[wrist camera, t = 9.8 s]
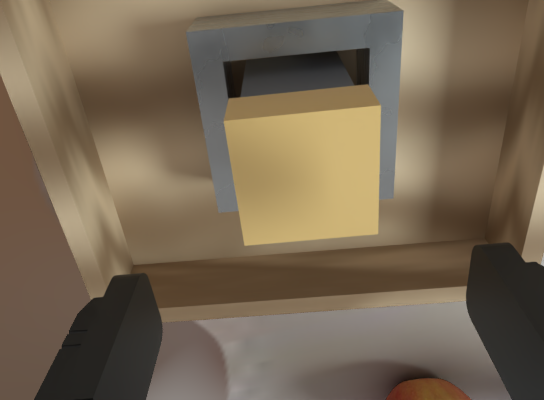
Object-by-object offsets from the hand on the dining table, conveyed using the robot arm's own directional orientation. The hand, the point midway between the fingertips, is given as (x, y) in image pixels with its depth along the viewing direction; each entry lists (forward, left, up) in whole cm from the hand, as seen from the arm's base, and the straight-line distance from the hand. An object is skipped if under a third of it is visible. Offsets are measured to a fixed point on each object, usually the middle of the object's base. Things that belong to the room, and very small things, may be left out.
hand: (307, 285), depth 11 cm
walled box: (+1, 0, -13) cm, 13 cm away
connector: (+1, 0, -12) cm, 12 cm away
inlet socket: (+1, 0, -13) cm, 13 cm away
